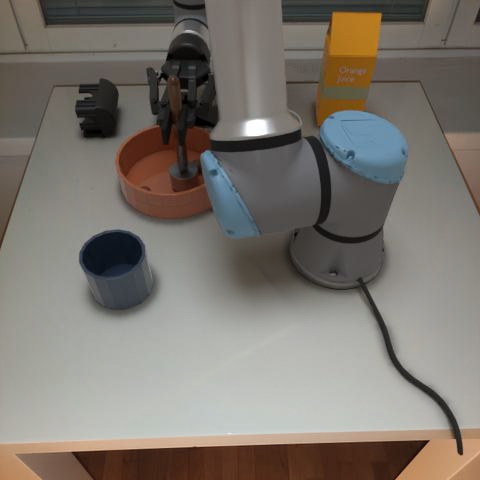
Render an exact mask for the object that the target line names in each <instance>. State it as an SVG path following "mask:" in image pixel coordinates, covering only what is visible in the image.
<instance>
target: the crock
mask: <svg viewBox="0 0 480 480" xmlns="http://www.w3.org/2000/svg"><path fill="white" fill-rule="evenodd" d="M78 253H79V254H78V264H79V266H80V268H81V270H82V273H83V275H84V278H85V281H86V282H87V285H88V287H89V290H90V292H91V294H92V296H93V298H94V299H95V302H97V303H98V304H99V305H100V306H102V307H104V308H106V309H109V310H117V311H120V310H121V311H122V310H127V309H132V308H134V307H136V306H138V305H140V304H142V303H143V302H144V301H145V300H146V299H147V298H148V297H149V296H150V295H151V292H152V289H153V287H154V281H153V273H152V270H151V265H150V260H149V257H148V253H147V248H146V244H145V243H144V241H143V240H142V239H141V237H140V236H138V235H137V234H135V233H133V232H132V231H130V230H124V229H120V228H119V229H118V228H117V229H108V230H103V231H101V232H98V233H95V234H94V235H92V236H91V237H90V238H89V239H88V240H87V241H85V242H84V243H83V245H82V247H81V249H80V250H79V252H78Z"/></svg>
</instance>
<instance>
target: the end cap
mask: <svg viewBox="0 0 480 480" xmlns="http://www.w3.org/2000/svg"><path fill="white" fill-rule="evenodd" d="M77 92H78V94H88V95H91V96H84V97H83V99H76V102H75V105H74V111H75V115H76V118H77V119H83V120H82V122H78V125H79V128H80V131H82V135H83V137H84V138H102V137H106V136H108V135H109V134H111V133H112V132H113V131H114V129H115V127H116V121H117V114H118V107H119V106H118V105H119V99H120V97H119V96H120V95H119V90H118V87H117V86H116V85H115V83H113V82H112V81H111V80H109V79H106V78H102V77H100V78H99V82H98V83H79V87H78V91H77Z"/></svg>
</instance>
